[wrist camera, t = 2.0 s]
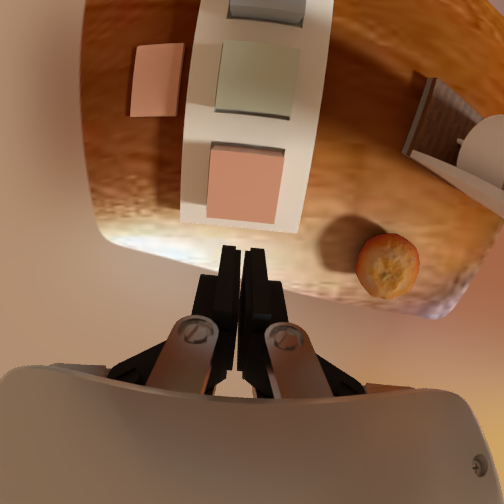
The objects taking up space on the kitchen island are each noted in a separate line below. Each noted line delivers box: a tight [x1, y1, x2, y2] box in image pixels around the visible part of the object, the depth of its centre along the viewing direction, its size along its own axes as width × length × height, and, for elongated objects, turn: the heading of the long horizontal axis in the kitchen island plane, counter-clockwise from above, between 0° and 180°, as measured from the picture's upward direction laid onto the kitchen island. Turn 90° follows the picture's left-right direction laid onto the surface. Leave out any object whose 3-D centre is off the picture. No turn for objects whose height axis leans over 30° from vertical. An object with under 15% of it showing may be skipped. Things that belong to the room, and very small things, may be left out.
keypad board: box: [180, 0, 334, 234], centre depth 22 cm, size 29×12×3 cm, turn 173°
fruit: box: [355, 233, 420, 299], centre depth 31 cm, size 8×8×8 cm
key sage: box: [215, 40, 300, 117], centre depth 19 cm, size 6×6×3 cm
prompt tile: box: [130, 43, 185, 117], centre depth 22 cm, size 8×5×1 cm, turn 173°
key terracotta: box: [206, 145, 285, 224], centre depth 24 cm, size 6×6×3 cm
